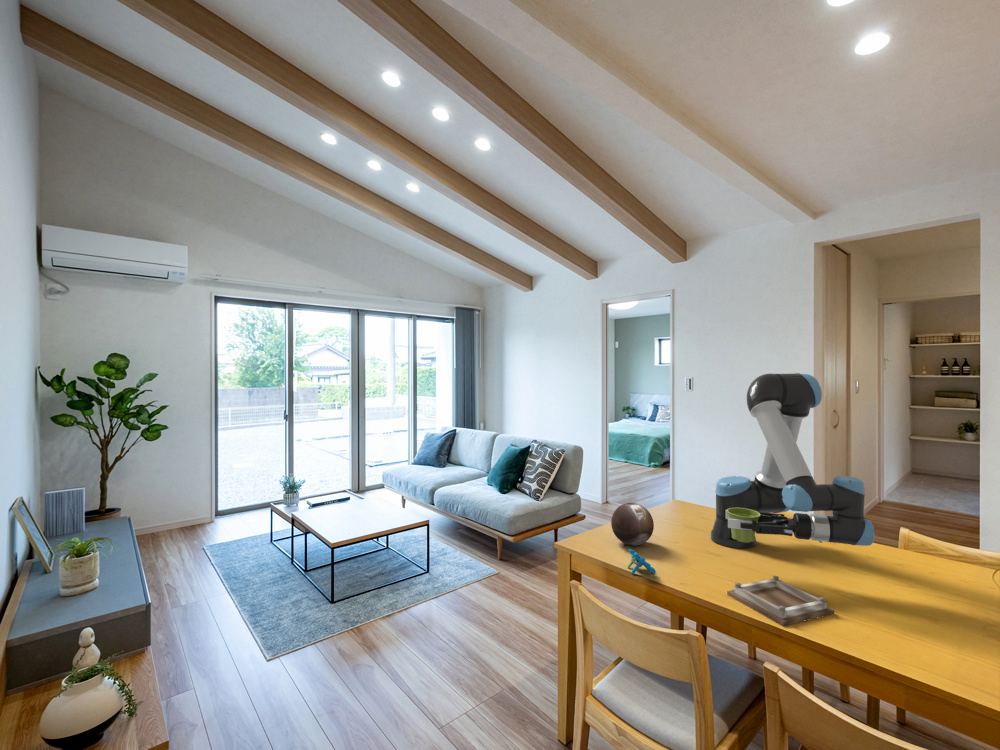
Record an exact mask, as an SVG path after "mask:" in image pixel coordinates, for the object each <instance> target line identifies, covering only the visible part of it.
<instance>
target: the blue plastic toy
mask: <svg viewBox="0 0 1000 750" xmlns="http://www.w3.org/2000/svg"><path fill="white" fill-rule="evenodd" d="M628 552H629V554H630V555H631V556H630V558H631V559H630V561H631V562H630V563H628V565H627V569H630V568H631V567H632V565H633V564H635V566H634V568H633V569H632V570H631V571H630V573H631V574H632V575H634V574H635V573H636V572H637V571H638V570H639V568H642V566H644V567H645V568H646V570H648V571H650V572H651V574H654V575H655V574H656V573H657V571H656V568H654V567H653V566H652V565H651V564H650V563H649V562H647V561H646V559H645V557H642V556H640V554H639V553H638V552H636V551H634V550H633V549H631V548H629V549H628Z"/></svg>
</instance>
